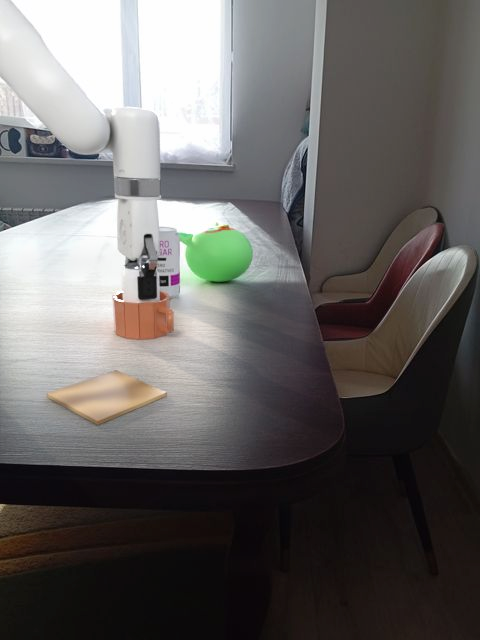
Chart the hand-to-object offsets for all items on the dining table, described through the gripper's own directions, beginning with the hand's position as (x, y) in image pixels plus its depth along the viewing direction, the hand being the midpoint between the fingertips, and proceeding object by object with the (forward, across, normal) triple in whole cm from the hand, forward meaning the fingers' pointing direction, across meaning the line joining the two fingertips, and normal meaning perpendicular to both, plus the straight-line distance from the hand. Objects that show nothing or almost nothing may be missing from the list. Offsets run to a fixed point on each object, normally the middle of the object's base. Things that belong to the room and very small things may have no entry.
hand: (141, 292), depth 92 cm
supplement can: (+7, -22, +11) cm, 26 cm away
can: (+7, 0, 0) cm, 7 cm away
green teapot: (+7, -32, +30) cm, 44 cm away
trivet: (+7, +25, -12) cm, 29 cm away
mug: (+7, +1, +1) cm, 7 cm away
